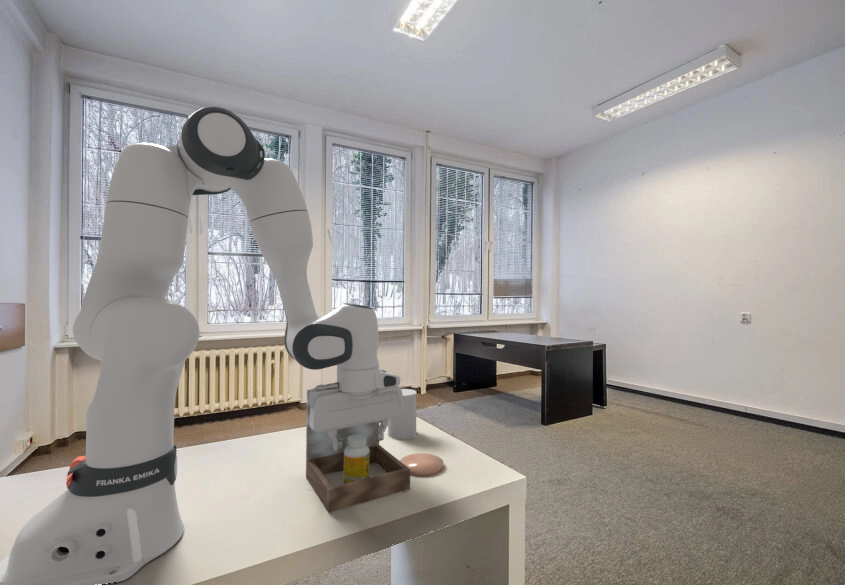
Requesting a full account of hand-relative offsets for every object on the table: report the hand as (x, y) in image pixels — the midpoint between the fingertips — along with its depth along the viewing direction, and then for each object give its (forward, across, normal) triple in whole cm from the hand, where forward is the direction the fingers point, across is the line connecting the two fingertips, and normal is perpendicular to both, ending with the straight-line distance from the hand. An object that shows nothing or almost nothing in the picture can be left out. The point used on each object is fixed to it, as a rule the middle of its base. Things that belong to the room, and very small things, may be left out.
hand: (358, 444), depth 81 cm
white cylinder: (+9, +21, +20) cm, 31 cm away
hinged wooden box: (+8, -1, 0) cm, 8 cm away
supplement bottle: (+8, -1, 0) cm, 8 cm away
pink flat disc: (+8, +15, 0) cm, 17 cm away
